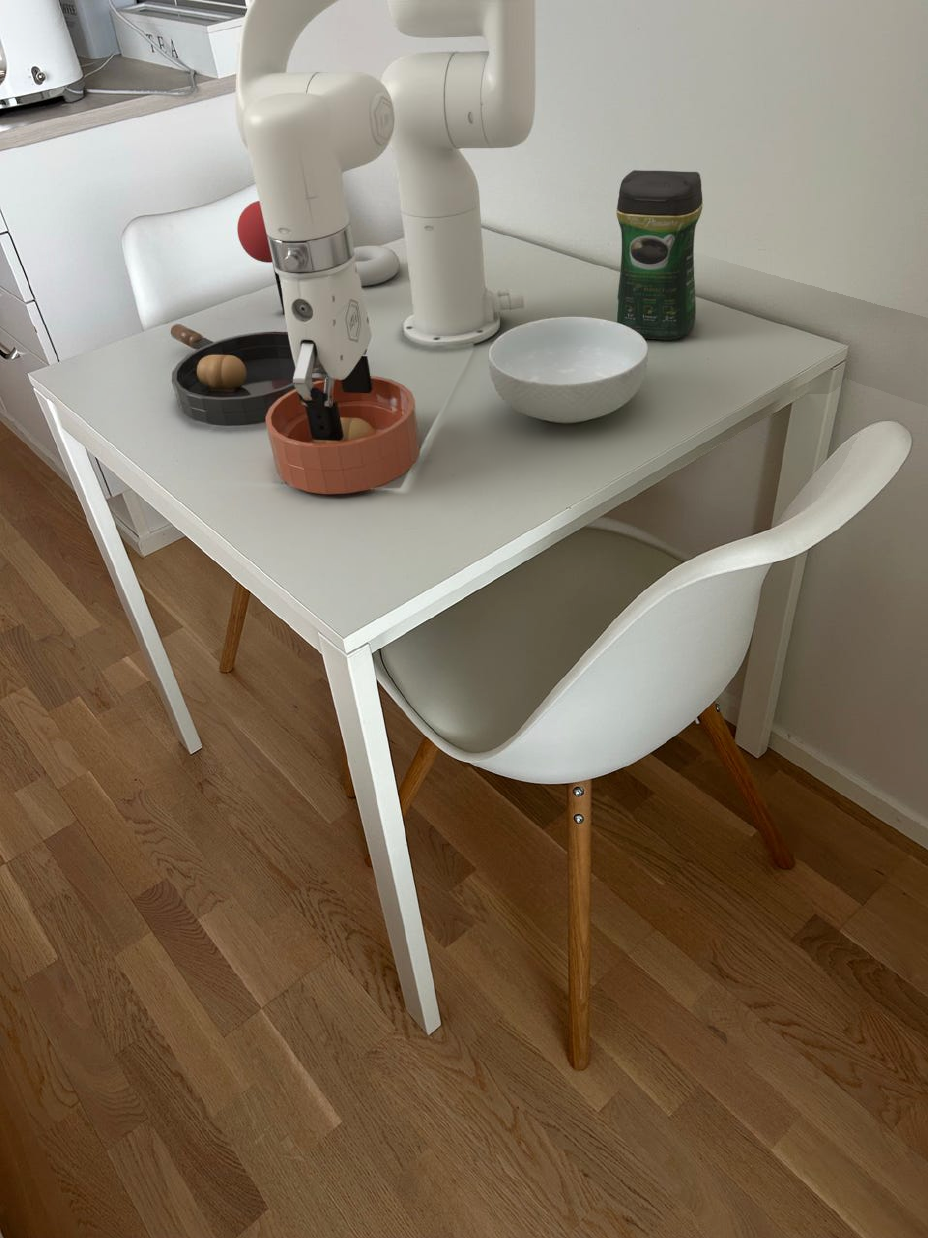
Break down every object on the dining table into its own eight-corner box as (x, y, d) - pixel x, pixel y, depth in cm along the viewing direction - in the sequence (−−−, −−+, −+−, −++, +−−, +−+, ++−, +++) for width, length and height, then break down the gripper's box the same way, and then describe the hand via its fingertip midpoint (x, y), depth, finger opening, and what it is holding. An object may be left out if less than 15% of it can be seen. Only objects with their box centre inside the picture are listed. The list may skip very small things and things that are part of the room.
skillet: (323, 350, 125) (318, 322, 122) (339, 413, 111) (333, 383, 108) (181, 374, 123) (173, 345, 120) (179, 441, 109) (169, 410, 106)
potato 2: (383, 446, 103) (377, 411, 100) (371, 467, 100) (365, 431, 97) (324, 444, 104) (317, 408, 101) (311, 464, 101) (303, 428, 98)
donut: (325, 290, 141) (391, 289, 139) (321, 267, 139) (387, 265, 137) (345, 265, 149) (408, 263, 146) (341, 242, 146) (405, 240, 144)
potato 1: (254, 380, 118) (247, 349, 115) (241, 395, 115) (234, 364, 112) (209, 379, 119) (201, 348, 117) (196, 394, 116) (187, 363, 114)
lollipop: (322, 306, 136) (302, 195, 127) (287, 327, 131) (263, 213, 122) (281, 299, 140) (259, 190, 130) (246, 319, 135) (219, 207, 125)
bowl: (408, 415, 109) (401, 365, 105) (432, 483, 97) (426, 430, 93) (273, 438, 107) (262, 389, 103) (282, 510, 96) (269, 457, 92)
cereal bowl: (533, 460, 99) (531, 397, 95) (468, 397, 111) (463, 338, 107) (675, 417, 103) (679, 355, 99) (598, 361, 116) (598, 303, 111)
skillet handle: (221, 354, 121) (217, 339, 120) (207, 359, 120) (203, 344, 119) (183, 334, 127) (179, 320, 126) (170, 339, 126) (166, 325, 125)
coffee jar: (700, 319, 122) (712, 162, 110) (684, 345, 117) (695, 183, 105) (626, 313, 126) (630, 160, 114) (607, 337, 120) (609, 180, 109)
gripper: (319, 285, 81) (352, 460, 92) (378, 213, 94) (401, 375, 105) (237, 285, 83) (279, 457, 94) (305, 215, 95) (336, 374, 107)
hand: (343, 414), depth 99 cm, fingers open, 9 cm apart
